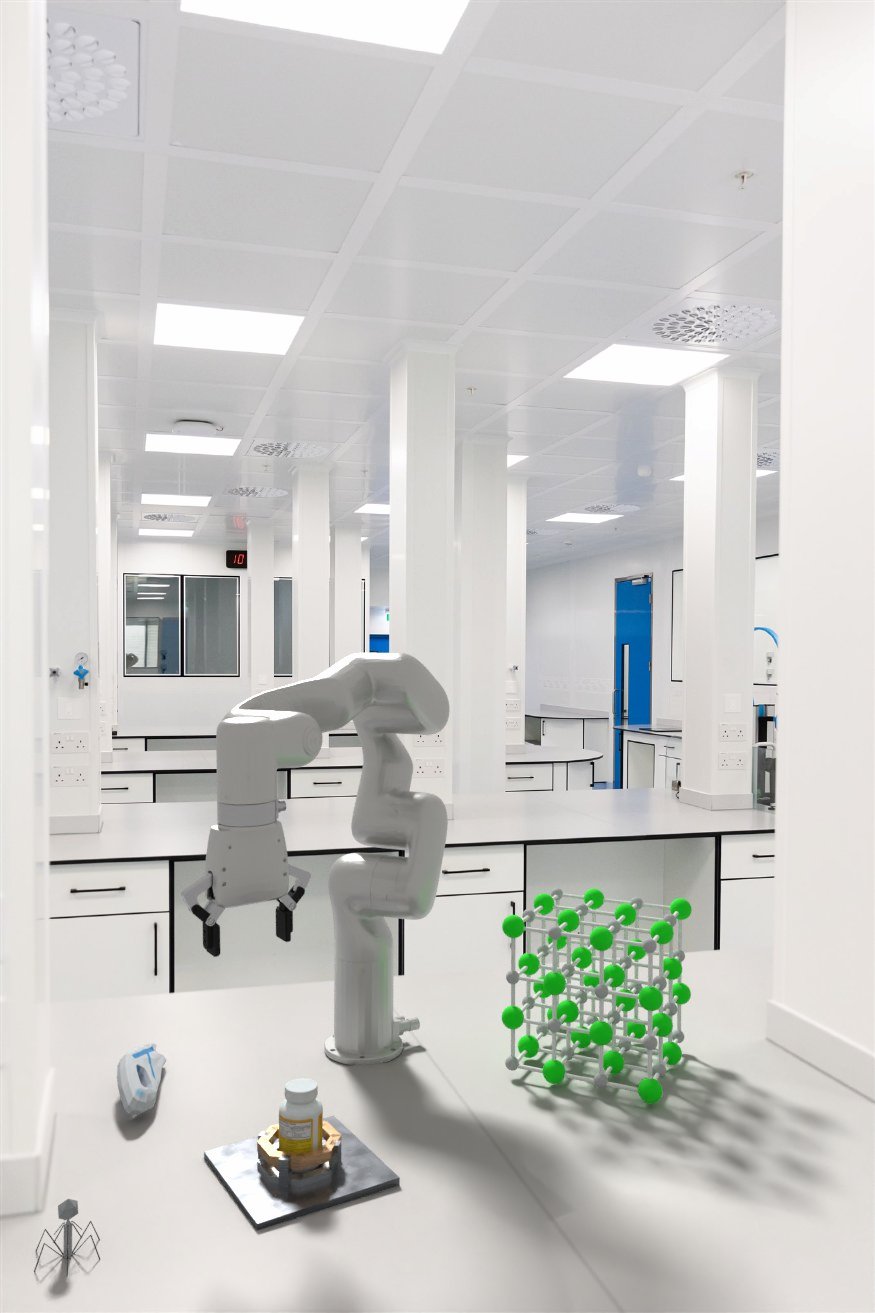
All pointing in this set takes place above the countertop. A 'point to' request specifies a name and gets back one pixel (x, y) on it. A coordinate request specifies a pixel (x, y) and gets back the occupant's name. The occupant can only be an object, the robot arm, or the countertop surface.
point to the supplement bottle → (300, 1119)
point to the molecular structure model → (599, 988)
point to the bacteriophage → (67, 1230)
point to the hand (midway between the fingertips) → (248, 946)
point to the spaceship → (139, 1078)
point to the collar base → (298, 1174)
